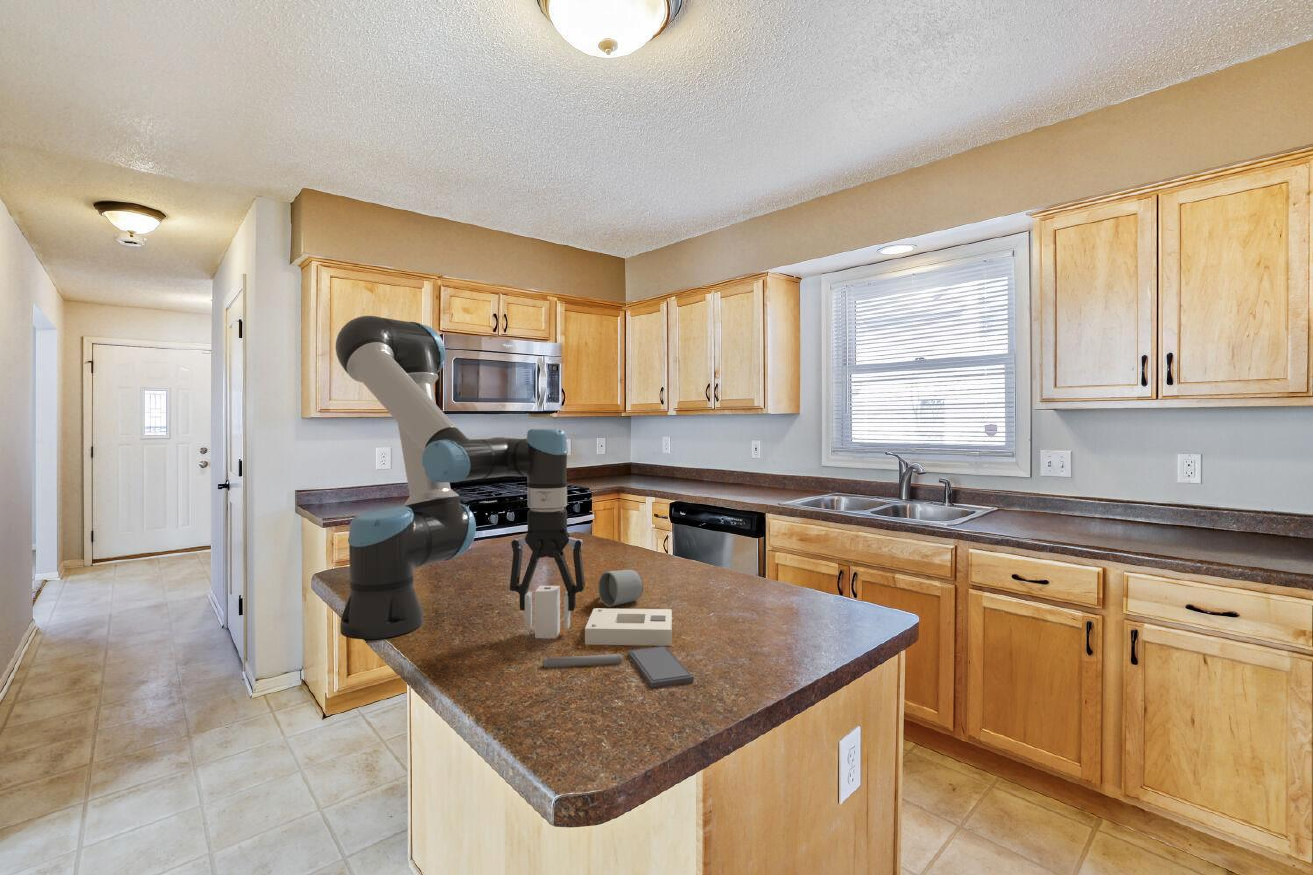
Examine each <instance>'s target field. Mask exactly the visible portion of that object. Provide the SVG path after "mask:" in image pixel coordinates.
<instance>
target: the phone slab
mask: <svg viewBox="0 0 1313 875" xmlns="http://www.w3.org/2000/svg"><path fill="white" fill-rule="evenodd" d="M627 656H628V657H629V659H631V661H632V663H633V664H634V665H635V667H636V668H637V670H638V671H639V672H640V674H641V675H642V677H643V678H644V680H645V681H646V682H647V684H648V685H649V687H650V688H651V689H654V688H662V687H666V686H667V687H668V686H675V685H682V684H689V683H694V680H695V678H694V676H693V674H691V672H690V671H689V670H688V669H687V667H685V666H684V665H683V663H681V662H680V660H679V659H678V658H677V657H676V656H675V654H673V653H672V652H671V651H670V650H669V648H668V646H654V647H645V648H636V649H628V650H627Z"/></svg>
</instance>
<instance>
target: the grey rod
mask: <svg viewBox="0 0 1313 875" xmlns="http://www.w3.org/2000/svg"><path fill="white" fill-rule="evenodd" d="M623 660H624V659H623V656H622V654H620V653H617V654H616V653H612V654H596V655H595V654H594V655H593V654H592V655H578V656H577V655H575V656H574V655H573V656H557V657H556V656H555V657H545V658H544V659H543V660H542V666H543V667H544V668H547V669H548V668H565V667H582V666H599V665H601V666H603V665H618V664H621V663H623Z"/></svg>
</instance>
